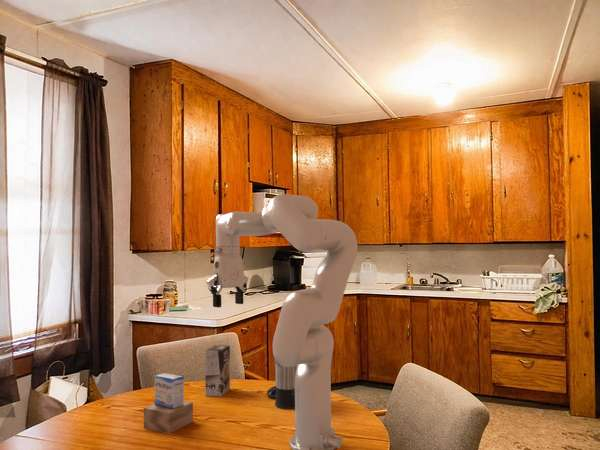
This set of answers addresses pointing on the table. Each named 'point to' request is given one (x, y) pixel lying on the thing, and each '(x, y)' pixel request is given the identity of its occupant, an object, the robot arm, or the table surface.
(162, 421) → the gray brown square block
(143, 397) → the table surface
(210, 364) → the coffee box
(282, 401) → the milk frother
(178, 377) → the medicine box
